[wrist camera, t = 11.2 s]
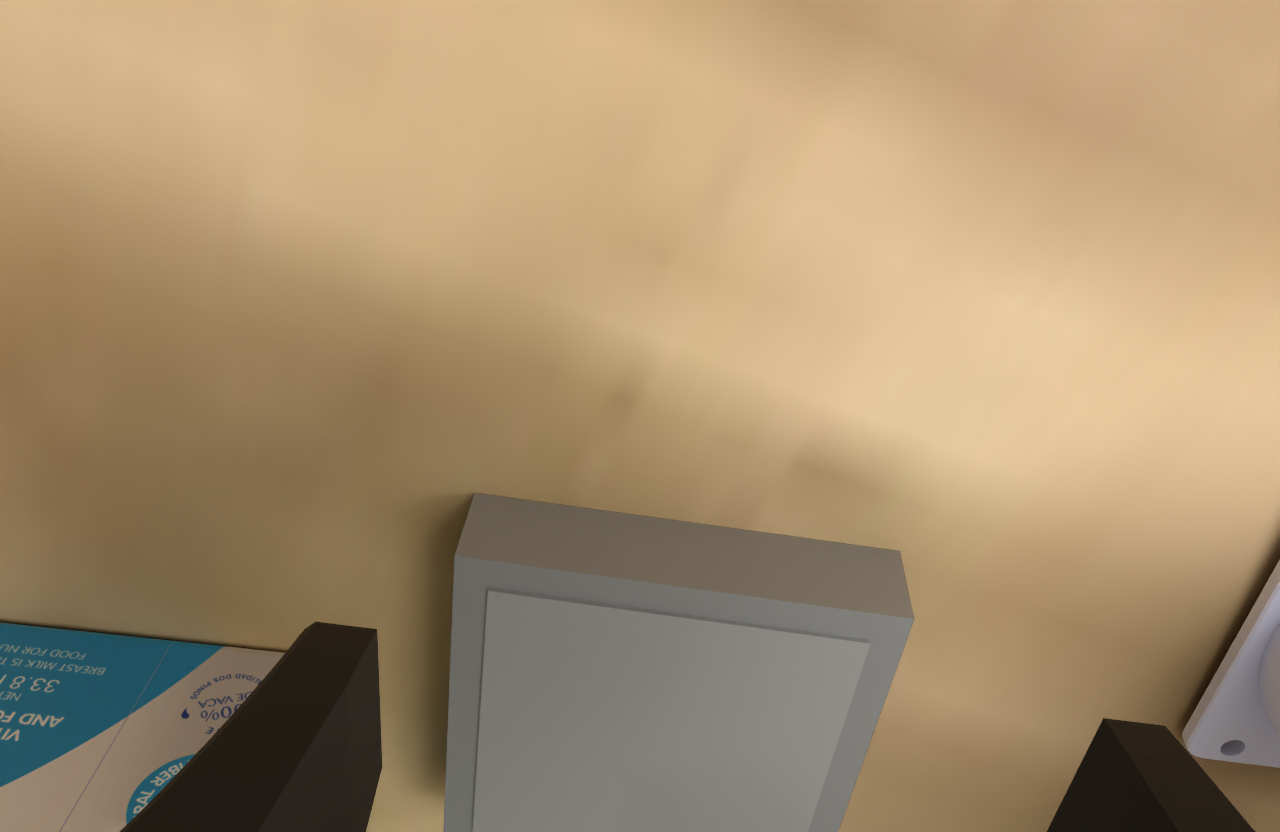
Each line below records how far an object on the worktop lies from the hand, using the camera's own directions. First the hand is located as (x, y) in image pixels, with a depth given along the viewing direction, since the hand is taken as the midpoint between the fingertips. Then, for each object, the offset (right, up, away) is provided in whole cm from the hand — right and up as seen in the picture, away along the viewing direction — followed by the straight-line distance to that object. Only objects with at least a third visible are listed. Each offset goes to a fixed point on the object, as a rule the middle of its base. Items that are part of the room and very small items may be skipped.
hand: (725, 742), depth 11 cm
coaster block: (0, -2, +15) cm, 15 cm away
